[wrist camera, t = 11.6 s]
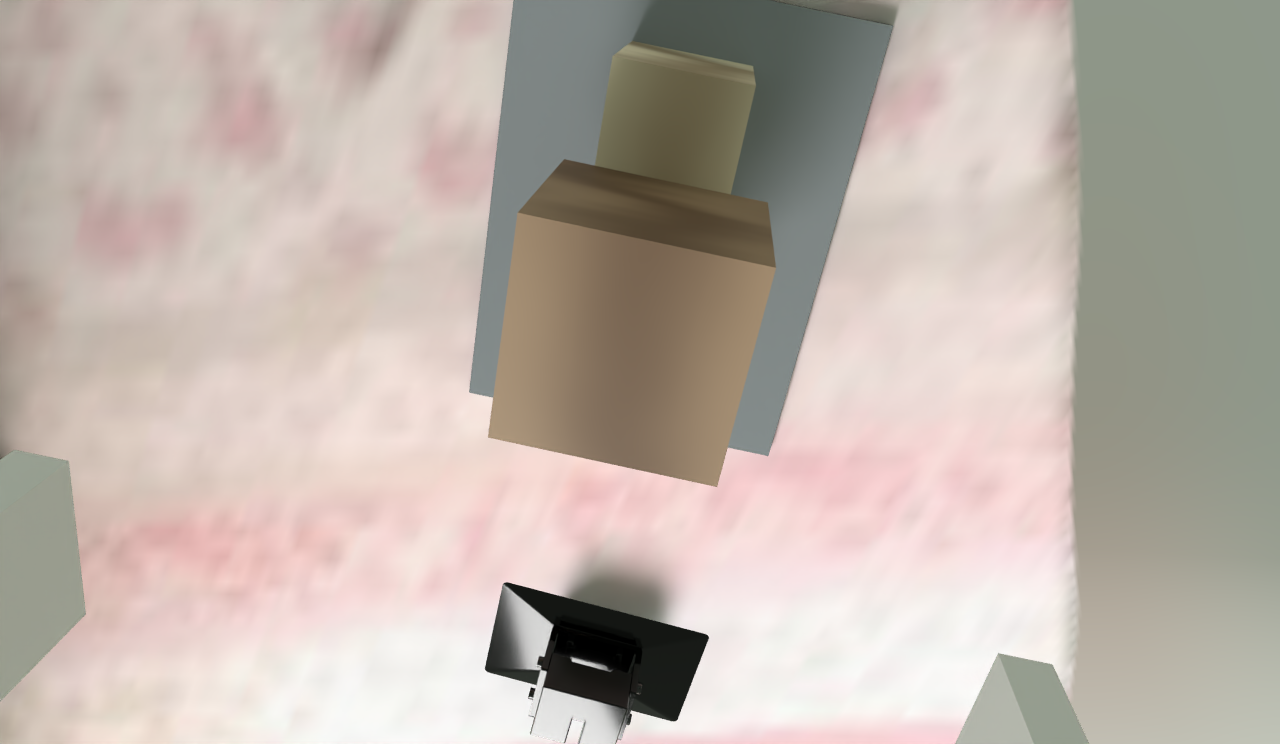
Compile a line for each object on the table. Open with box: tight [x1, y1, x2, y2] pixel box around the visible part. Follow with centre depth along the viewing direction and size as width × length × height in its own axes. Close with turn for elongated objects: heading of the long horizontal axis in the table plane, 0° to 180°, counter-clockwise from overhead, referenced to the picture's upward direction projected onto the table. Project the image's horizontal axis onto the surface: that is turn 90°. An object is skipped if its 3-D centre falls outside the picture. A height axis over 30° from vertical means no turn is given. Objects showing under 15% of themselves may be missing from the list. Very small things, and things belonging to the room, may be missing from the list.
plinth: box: [595, 41, 756, 195], centre depth 29 cm, size 4×12×5 cm, turn 170°
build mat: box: [469, 0, 893, 456], centre depth 31 cm, size 12×16×1 cm
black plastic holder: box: [485, 582, 709, 744], centre depth 39 cm, size 12×7×5 cm, turn 76°
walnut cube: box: [488, 159, 776, 487], centre depth 24 cm, size 6×6×6 cm
